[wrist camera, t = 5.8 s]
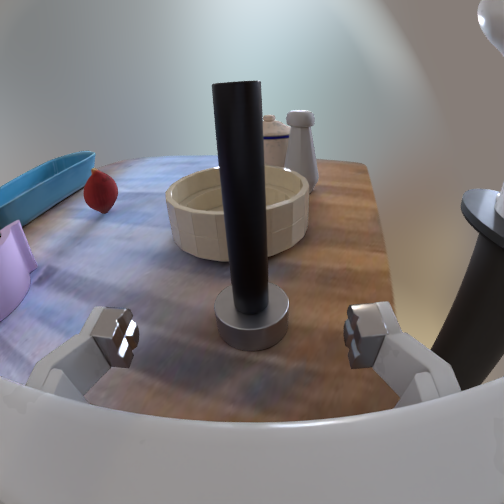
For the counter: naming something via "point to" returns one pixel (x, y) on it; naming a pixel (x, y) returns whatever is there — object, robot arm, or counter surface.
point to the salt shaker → (301, 146)
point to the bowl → (212, 216)
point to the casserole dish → (44, 187)
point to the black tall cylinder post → (245, 222)
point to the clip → (14, 267)
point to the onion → (100, 191)
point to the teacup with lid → (275, 141)
